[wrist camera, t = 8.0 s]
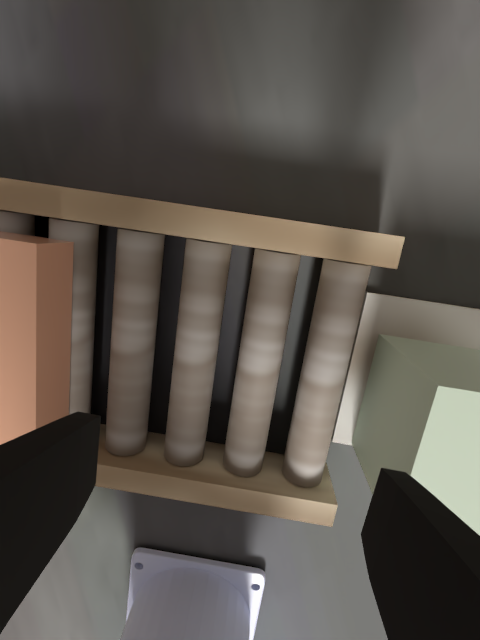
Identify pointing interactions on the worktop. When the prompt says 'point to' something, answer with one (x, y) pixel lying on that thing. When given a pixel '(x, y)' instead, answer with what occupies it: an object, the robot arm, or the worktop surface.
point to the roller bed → (203, 340)
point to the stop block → (424, 420)
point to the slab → (34, 332)
